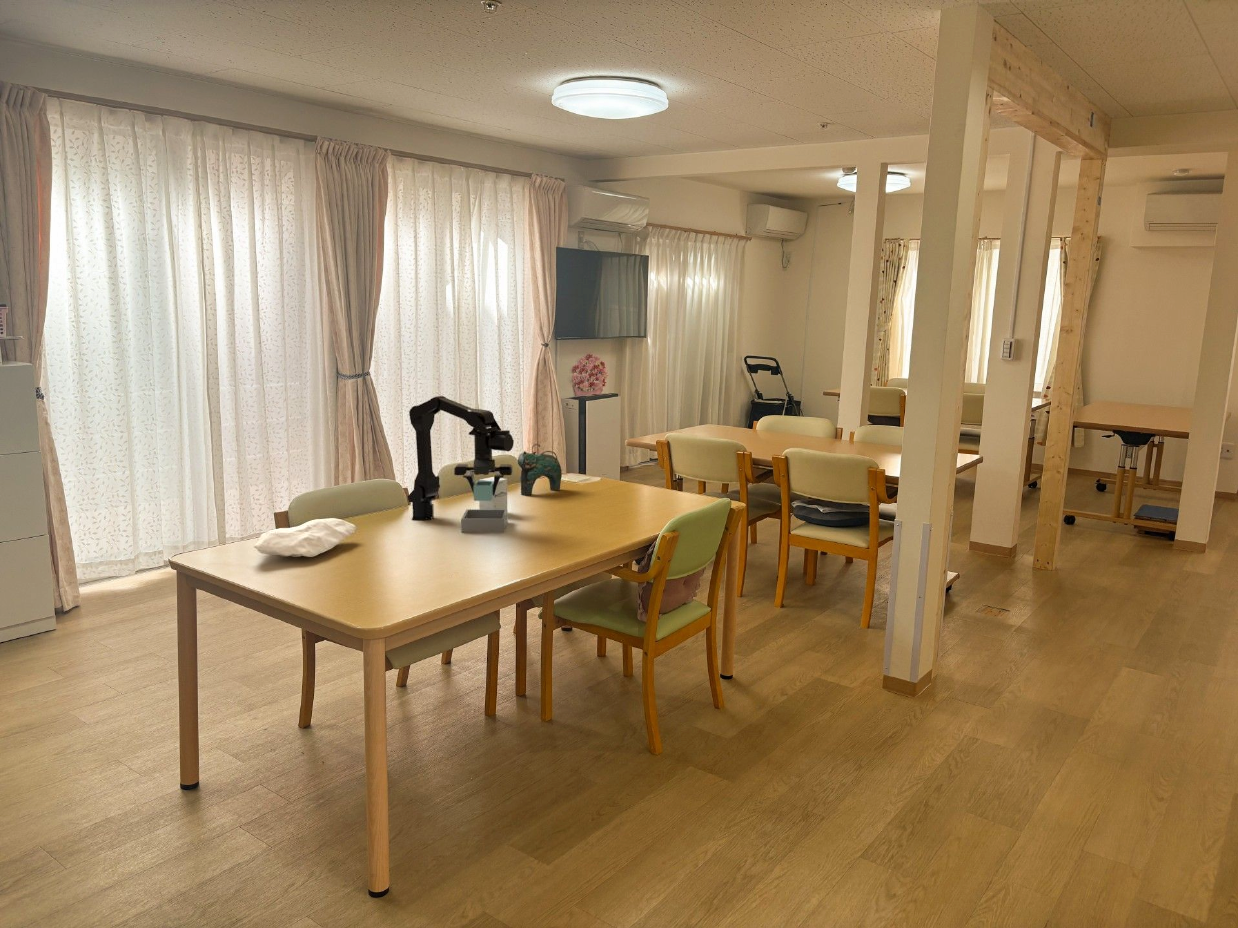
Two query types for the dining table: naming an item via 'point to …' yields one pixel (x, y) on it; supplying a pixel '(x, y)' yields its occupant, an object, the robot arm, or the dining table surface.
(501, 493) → the supplement box
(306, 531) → the crumpled cloth
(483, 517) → the grey crate
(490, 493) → the teal crate
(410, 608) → the dining table surface
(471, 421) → the robot arm
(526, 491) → the ceramic cat
